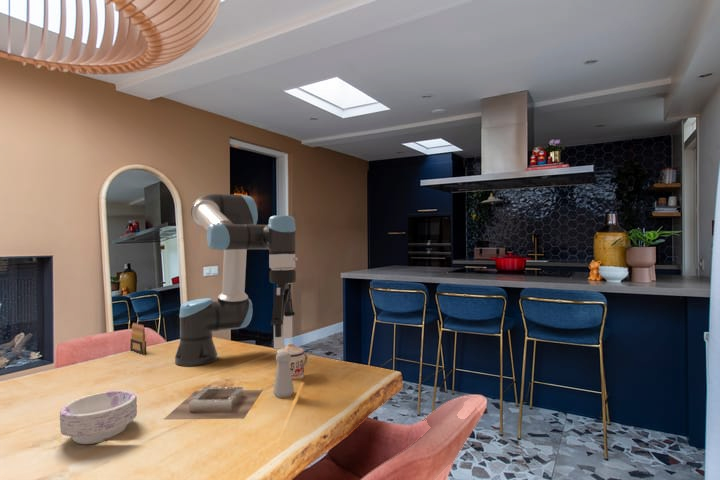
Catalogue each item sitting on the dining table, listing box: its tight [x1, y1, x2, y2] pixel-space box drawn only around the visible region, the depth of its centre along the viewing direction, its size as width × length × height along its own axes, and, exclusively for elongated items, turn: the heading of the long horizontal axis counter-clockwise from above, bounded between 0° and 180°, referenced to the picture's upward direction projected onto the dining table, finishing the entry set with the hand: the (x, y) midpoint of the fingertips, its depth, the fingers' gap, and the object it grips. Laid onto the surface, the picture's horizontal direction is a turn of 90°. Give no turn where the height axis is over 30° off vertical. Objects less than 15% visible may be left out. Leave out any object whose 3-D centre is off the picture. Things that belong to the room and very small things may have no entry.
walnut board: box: [163, 389, 263, 420], centre depth 112 cm, size 20×20×1 cm
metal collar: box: [189, 386, 244, 412], centre depth 112 cm, size 11×11×2 cm
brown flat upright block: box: [129, 322, 147, 355], centre depth 172 cm, size 11×2×12 cm, turn 52°
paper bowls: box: [59, 390, 138, 445], centre depth 96 cm, size 15×15×8 cm
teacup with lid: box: [276, 342, 309, 380], centre depth 137 cm, size 12×9×12 cm
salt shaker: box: [272, 352, 295, 399], centre depth 118 cm, size 6×6×13 cm
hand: (283, 342), depth 118 cm, fingers open, 13 cm apart
